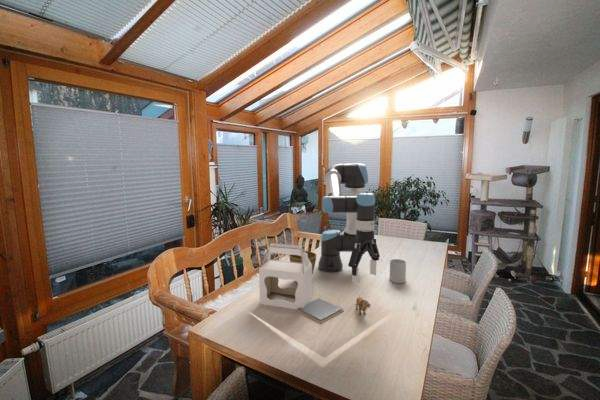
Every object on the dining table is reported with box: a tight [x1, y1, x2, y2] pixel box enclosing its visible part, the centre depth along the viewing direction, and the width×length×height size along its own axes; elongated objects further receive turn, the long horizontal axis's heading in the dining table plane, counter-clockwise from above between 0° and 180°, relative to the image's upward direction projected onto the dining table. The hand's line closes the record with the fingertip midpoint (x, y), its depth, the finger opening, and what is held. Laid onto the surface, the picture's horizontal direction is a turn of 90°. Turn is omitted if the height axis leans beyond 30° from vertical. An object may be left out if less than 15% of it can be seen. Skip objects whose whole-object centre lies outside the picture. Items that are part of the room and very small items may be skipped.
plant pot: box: [288, 250, 317, 284], centre depth 158 cm, size 15×15×16 cm
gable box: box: [258, 242, 313, 310], centre depth 136 cm, size 22×13×28 cm, turn 71°
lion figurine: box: [355, 296, 372, 316], centre depth 126 cm, size 12×4×7 cm, turn 12°
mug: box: [389, 258, 407, 284], centre depth 163 cm, size 12×8×11 cm
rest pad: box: [295, 298, 345, 324], centre depth 127 cm, size 15×15×1 cm
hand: (364, 278), depth 124 cm, fingers open, 13 cm apart
